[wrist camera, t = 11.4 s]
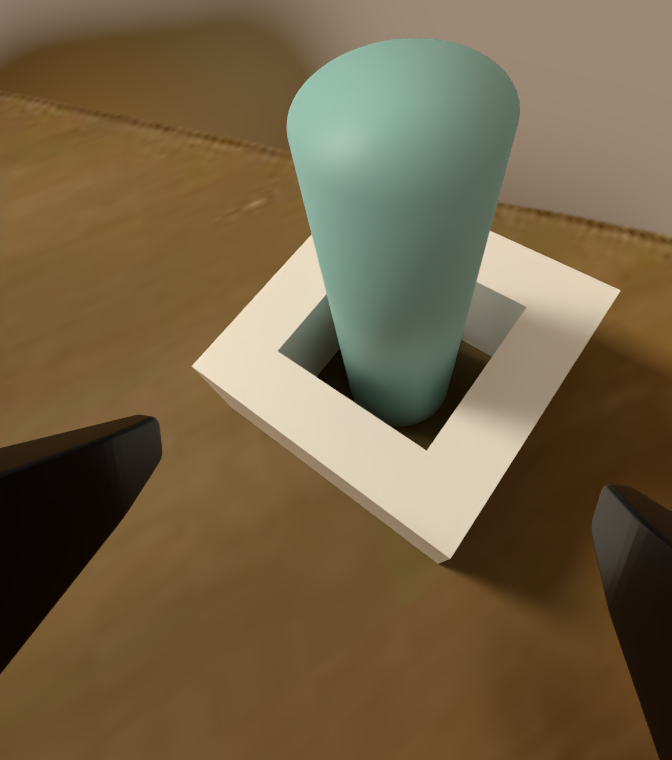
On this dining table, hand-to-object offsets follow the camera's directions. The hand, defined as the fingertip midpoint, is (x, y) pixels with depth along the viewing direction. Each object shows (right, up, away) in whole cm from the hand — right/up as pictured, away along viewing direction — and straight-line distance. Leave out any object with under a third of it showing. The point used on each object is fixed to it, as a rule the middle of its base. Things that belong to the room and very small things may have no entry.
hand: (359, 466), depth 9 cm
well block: (+2, +2, +11) cm, 12 cm away
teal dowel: (+2, +2, +11) cm, 12 cm away
